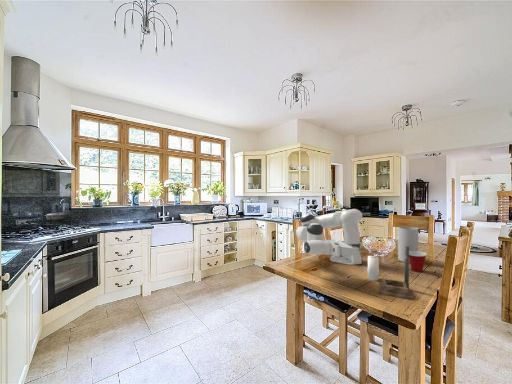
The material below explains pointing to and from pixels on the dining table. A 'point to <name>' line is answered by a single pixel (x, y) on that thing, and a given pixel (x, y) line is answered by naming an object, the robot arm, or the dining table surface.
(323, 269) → the dining table surface
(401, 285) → the roll holder
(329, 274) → the dining table surface
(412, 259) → the plastic cup
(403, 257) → the cylinder vase
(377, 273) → the paper roll
